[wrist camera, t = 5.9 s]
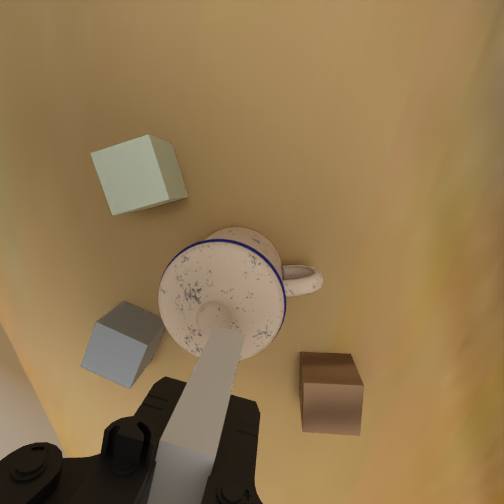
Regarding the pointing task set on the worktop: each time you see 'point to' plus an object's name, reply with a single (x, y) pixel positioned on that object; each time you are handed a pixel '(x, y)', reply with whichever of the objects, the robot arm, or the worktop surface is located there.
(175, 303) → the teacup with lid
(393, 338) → the worktop surface
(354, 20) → the worktop surface
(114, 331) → the slate block
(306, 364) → the walnut block
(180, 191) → the sage block
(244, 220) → the worktop surface
